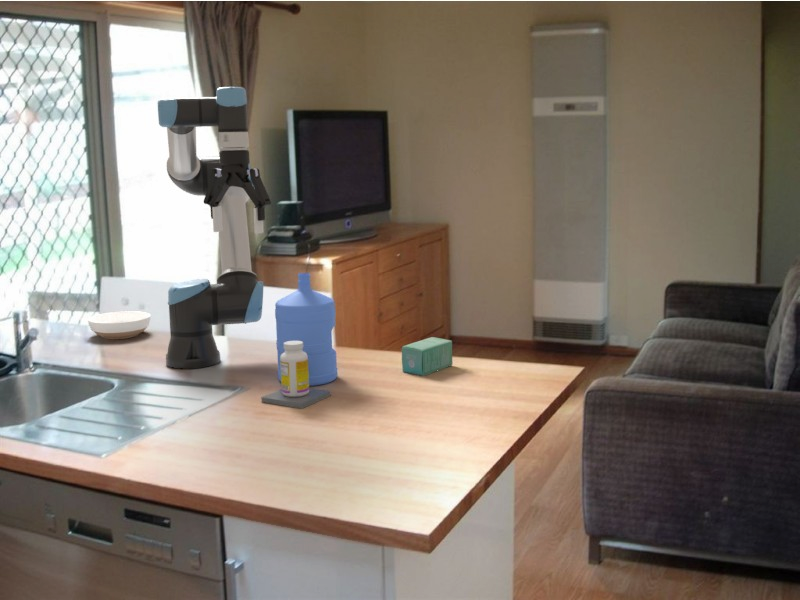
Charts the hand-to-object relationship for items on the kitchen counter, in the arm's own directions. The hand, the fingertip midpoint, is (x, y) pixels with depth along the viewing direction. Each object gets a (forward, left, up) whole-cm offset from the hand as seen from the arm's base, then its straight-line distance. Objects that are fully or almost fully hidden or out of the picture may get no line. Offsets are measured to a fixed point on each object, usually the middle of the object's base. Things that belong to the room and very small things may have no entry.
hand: (238, 232), depth 234 cm
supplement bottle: (+24, -10, -38) cm, 46 cm away
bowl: (-71, +23, -39) cm, 84 cm away
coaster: (+24, -10, -39) cm, 47 cm away
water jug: (+16, +6, -39) cm, 42 cm away
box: (+39, +29, -39) cm, 63 cm away
